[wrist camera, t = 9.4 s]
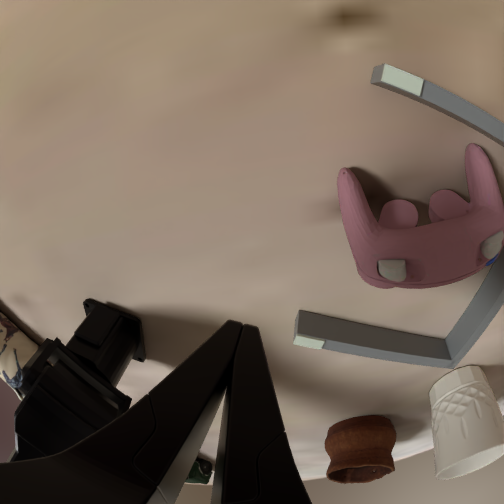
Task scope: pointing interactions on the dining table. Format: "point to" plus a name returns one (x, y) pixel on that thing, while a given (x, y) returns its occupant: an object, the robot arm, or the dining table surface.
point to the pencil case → (14, 353)
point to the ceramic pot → (360, 449)
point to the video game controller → (426, 231)
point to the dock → (481, 307)
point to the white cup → (465, 423)
